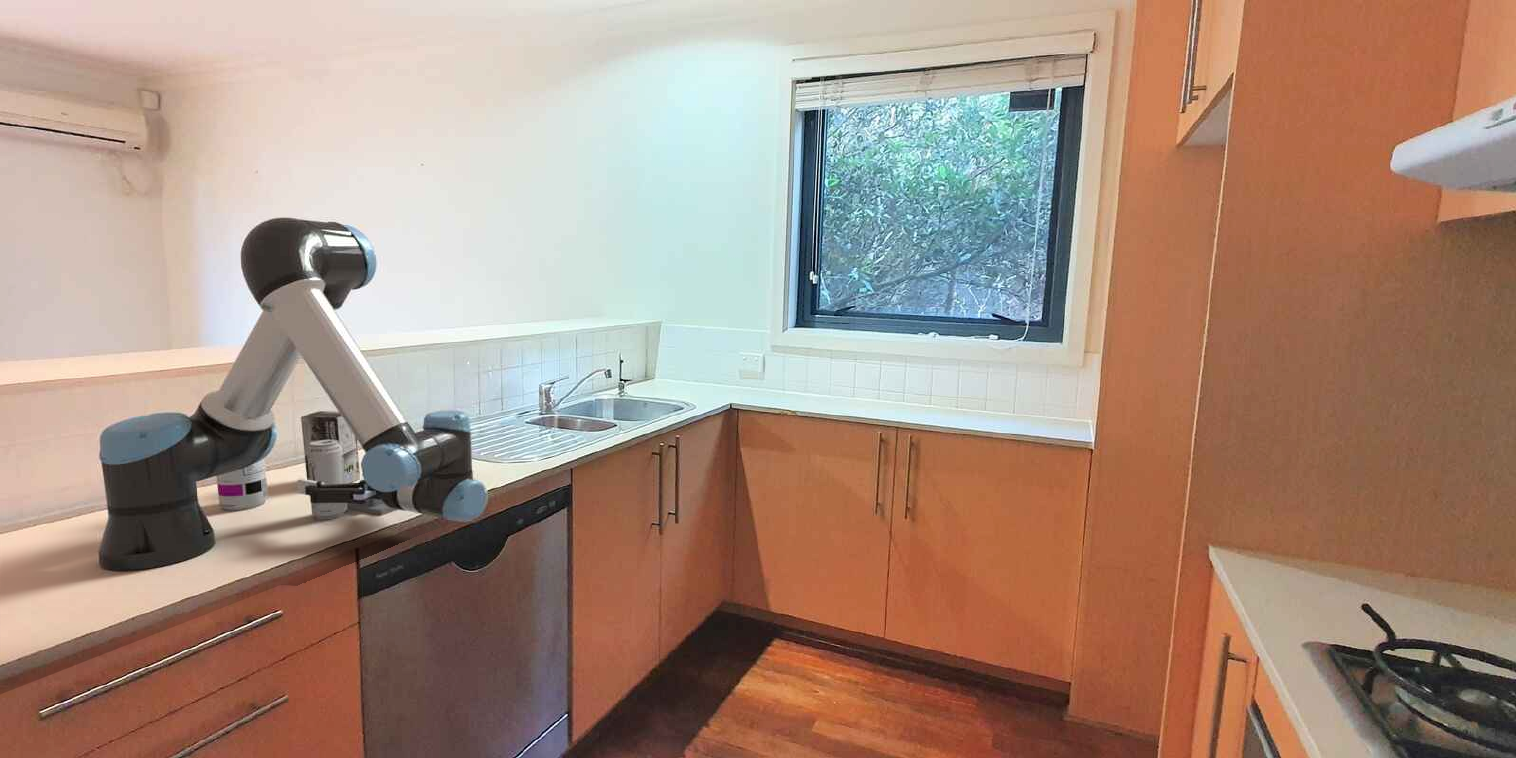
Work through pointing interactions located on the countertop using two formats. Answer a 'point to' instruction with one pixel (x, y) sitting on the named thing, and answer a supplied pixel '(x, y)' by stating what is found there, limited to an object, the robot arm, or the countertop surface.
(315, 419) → the coffee box
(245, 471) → the supplement can
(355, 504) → the tray
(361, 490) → the robot arm
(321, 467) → the energy drink can
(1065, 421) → the countertop surface
